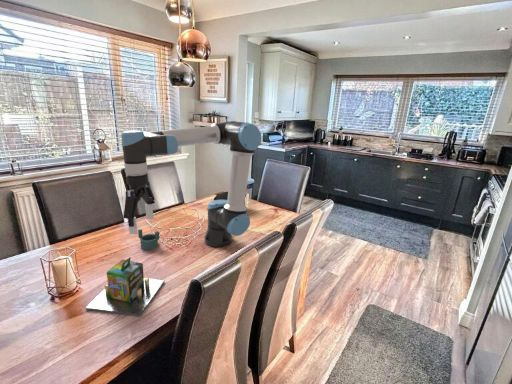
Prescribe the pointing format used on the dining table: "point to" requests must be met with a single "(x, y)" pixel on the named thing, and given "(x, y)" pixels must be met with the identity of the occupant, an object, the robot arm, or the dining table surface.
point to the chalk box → (125, 280)
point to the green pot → (148, 240)
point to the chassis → (122, 307)
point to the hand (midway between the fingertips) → (142, 225)
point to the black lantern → (221, 196)
